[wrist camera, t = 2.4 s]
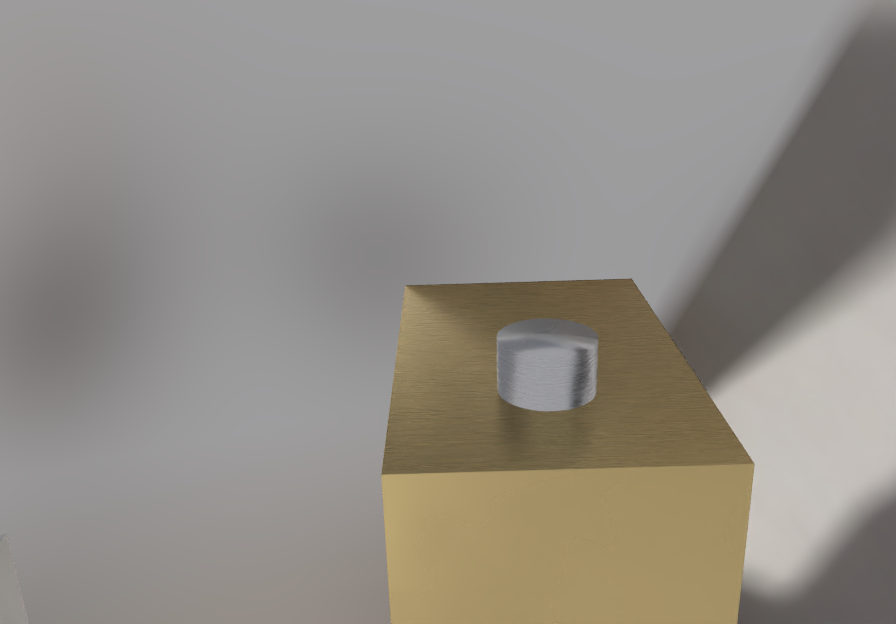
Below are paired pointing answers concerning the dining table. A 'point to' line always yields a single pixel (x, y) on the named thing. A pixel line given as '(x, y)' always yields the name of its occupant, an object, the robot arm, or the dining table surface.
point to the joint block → (556, 463)
